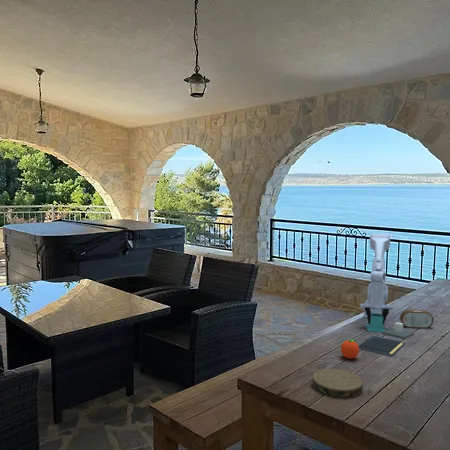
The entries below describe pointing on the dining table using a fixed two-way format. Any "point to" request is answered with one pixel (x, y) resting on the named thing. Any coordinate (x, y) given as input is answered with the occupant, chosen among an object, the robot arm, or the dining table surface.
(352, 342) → the clementine
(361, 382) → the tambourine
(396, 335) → the post block
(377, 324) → the flange
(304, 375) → the dining table surface
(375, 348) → the wallet
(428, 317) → the tin
